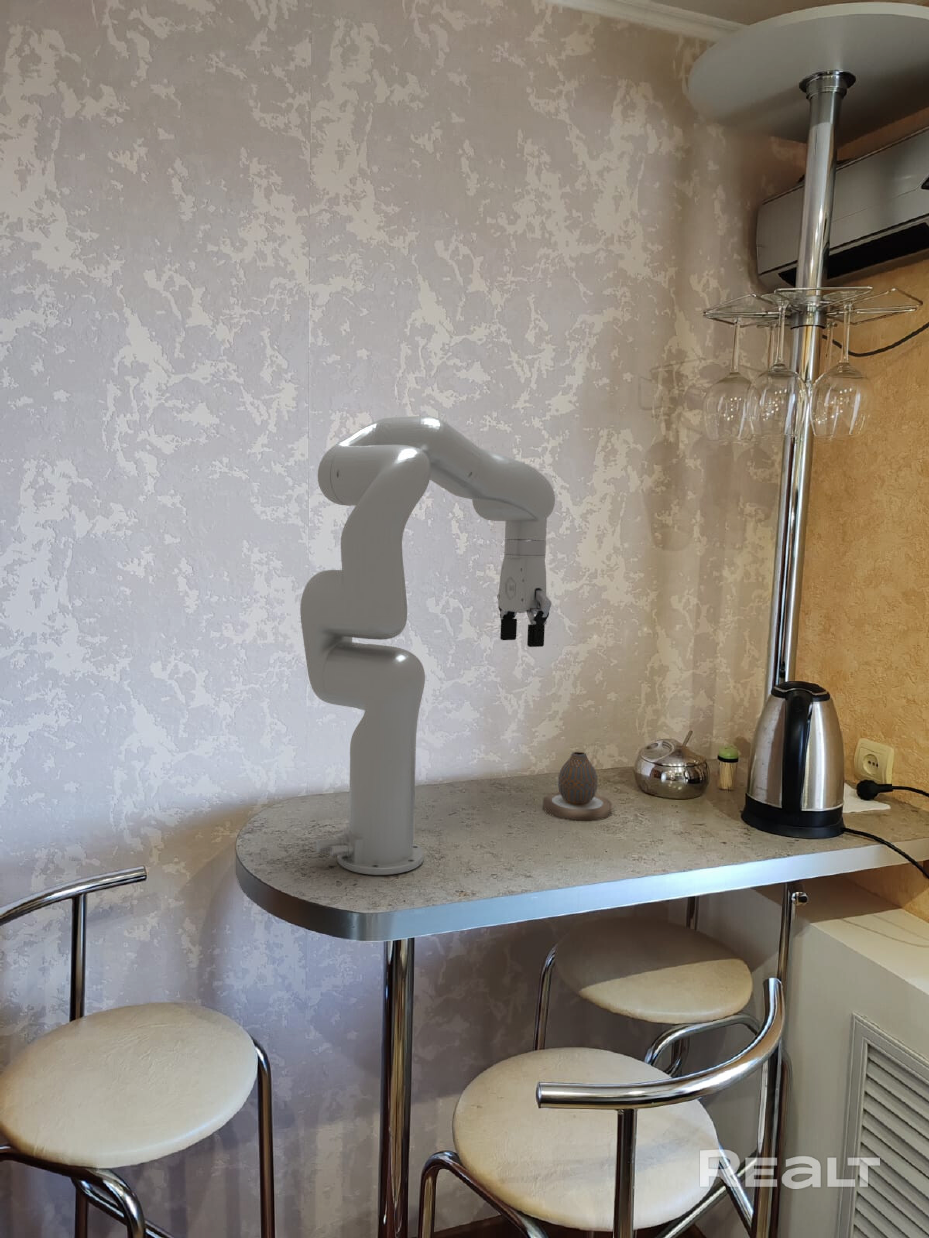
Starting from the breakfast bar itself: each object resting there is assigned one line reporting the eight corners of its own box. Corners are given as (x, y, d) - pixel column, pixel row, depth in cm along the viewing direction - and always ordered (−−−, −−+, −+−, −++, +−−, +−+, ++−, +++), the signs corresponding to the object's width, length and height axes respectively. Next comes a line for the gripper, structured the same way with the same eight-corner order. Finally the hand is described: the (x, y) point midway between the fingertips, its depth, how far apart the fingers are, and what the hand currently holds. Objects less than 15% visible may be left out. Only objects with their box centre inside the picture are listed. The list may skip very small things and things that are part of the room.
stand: (567, 824, 149) (568, 815, 149) (530, 804, 160) (530, 795, 160) (625, 815, 155) (625, 807, 155) (585, 796, 165) (585, 788, 165)
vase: (602, 800, 158) (605, 752, 157) (586, 810, 152) (589, 760, 151) (567, 793, 162) (569, 746, 161) (550, 802, 156) (552, 753, 155)
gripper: (484, 548, 168) (481, 638, 170) (532, 551, 153) (528, 650, 154) (518, 549, 171) (515, 637, 173) (568, 552, 156) (564, 648, 158)
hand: (521, 643), depth 164 cm, fingers open, 9 cm apart
